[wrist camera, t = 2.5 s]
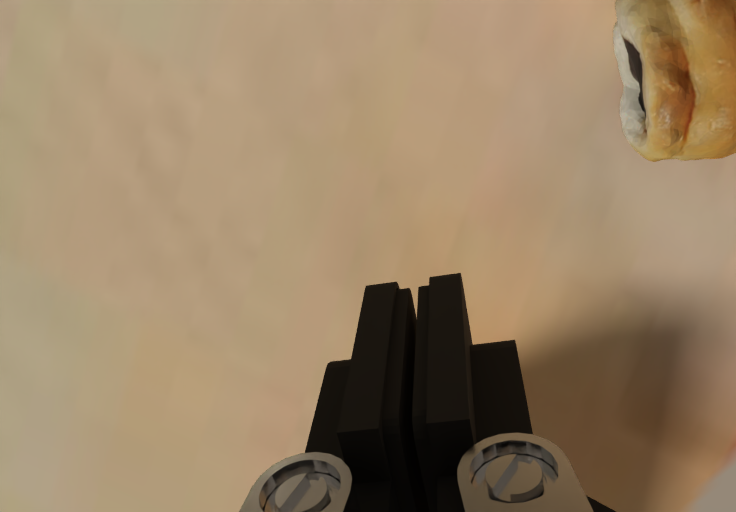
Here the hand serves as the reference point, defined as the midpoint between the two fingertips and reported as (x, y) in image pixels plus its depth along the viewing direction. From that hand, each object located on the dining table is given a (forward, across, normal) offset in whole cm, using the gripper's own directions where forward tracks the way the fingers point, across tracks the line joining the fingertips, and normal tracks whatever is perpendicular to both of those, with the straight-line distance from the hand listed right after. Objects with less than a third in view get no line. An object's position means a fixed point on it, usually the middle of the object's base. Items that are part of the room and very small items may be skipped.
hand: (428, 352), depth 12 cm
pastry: (+16, -11, -1) cm, 20 cm away
